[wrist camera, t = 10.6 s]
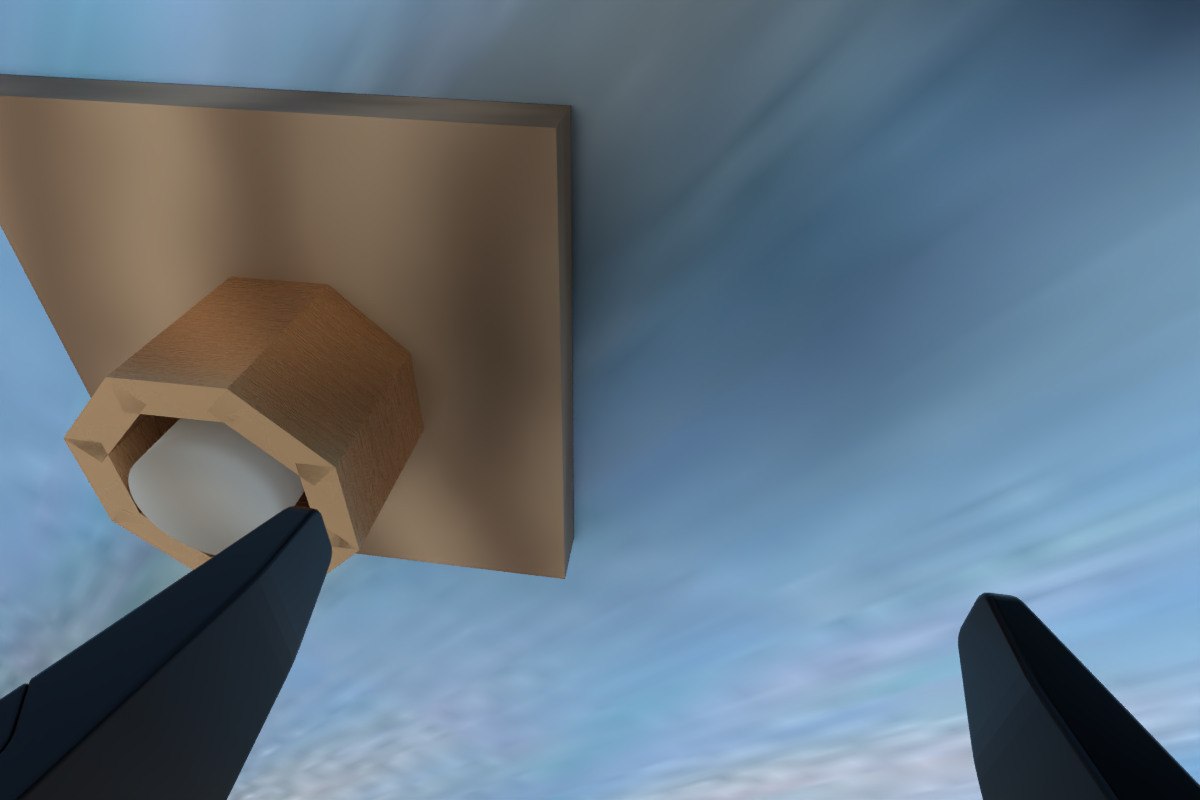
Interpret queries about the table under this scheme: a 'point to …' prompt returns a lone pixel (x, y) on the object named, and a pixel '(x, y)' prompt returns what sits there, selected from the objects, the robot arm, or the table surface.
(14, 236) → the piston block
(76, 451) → the brown octagonal cup
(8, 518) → the table surface
